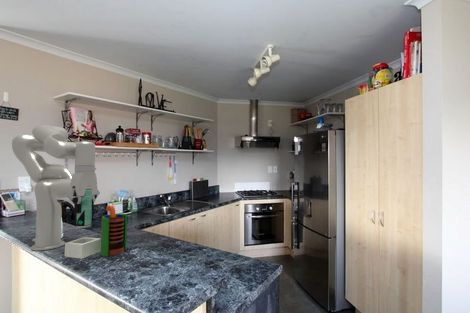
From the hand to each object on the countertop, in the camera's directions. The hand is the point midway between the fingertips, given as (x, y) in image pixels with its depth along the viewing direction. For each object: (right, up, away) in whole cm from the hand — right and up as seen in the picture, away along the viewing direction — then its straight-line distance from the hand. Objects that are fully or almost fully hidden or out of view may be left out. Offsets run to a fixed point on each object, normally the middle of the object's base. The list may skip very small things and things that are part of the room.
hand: (84, 211), depth 106 cm
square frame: (0, -18, -1) cm, 18 cm away
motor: (+12, -18, +1) cm, 22 cm away
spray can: (0, -7, 0) cm, 7 cm away
